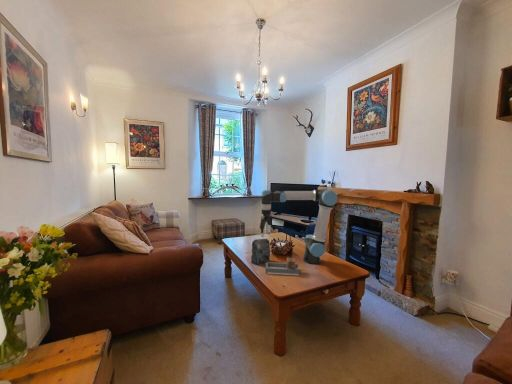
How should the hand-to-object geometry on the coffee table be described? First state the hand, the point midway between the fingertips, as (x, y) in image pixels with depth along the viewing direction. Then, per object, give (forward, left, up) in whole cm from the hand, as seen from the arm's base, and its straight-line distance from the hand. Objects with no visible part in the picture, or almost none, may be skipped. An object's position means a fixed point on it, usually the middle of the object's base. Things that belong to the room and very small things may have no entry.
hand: (265, 234), depth 183 cm
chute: (-14, +8, -26) cm, 31 cm away
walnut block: (-20, +8, -24) cm, 33 cm away
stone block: (+4, -8, -26) cm, 28 cm away
